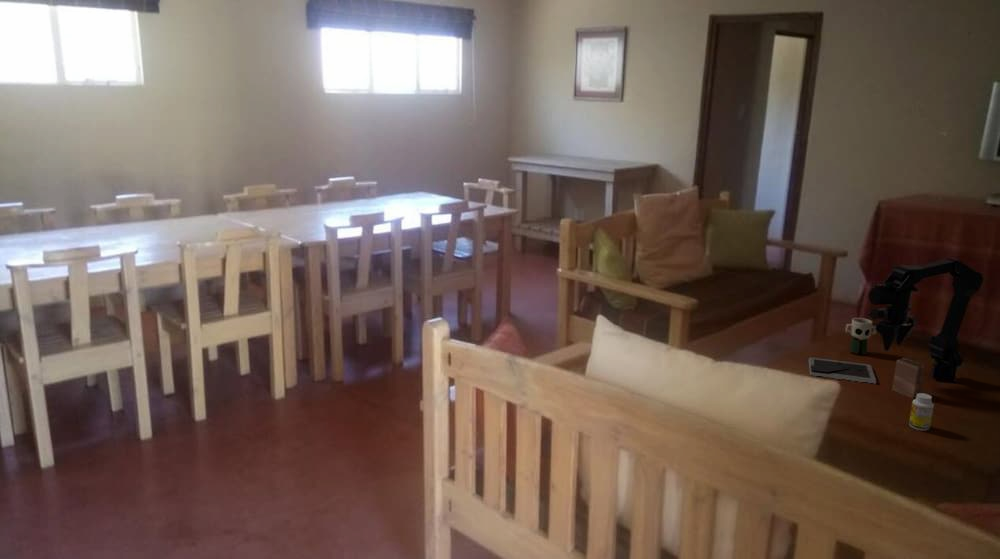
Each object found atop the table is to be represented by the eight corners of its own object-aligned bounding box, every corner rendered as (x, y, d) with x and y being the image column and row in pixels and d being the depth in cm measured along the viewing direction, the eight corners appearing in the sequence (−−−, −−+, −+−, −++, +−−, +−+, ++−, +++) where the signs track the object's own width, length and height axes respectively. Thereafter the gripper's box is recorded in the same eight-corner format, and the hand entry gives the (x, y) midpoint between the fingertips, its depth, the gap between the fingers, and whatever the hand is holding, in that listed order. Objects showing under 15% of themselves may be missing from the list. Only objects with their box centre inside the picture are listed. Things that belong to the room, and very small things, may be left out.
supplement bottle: (910, 421, 225) (916, 390, 223) (931, 426, 222) (937, 395, 219) (906, 427, 221) (911, 396, 219) (927, 433, 218) (933, 401, 215)
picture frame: (810, 377, 260) (875, 386, 254) (811, 369, 260) (876, 378, 253) (808, 362, 275) (869, 370, 268) (809, 355, 274) (870, 362, 267)
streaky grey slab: (898, 388, 250) (903, 357, 247) (919, 395, 245) (924, 364, 242) (891, 390, 248) (896, 360, 245) (912, 398, 242) (917, 366, 240)
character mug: (844, 354, 281) (849, 322, 278) (840, 348, 288) (844, 316, 285) (875, 357, 279) (880, 324, 276) (870, 350, 286) (875, 318, 283)
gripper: (887, 293, 259) (880, 336, 263) (862, 302, 248) (856, 346, 251) (921, 301, 251) (913, 344, 255) (897, 310, 239) (889, 355, 243)
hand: (892, 347), depth 251 cm, fingers open, 9 cm apart
